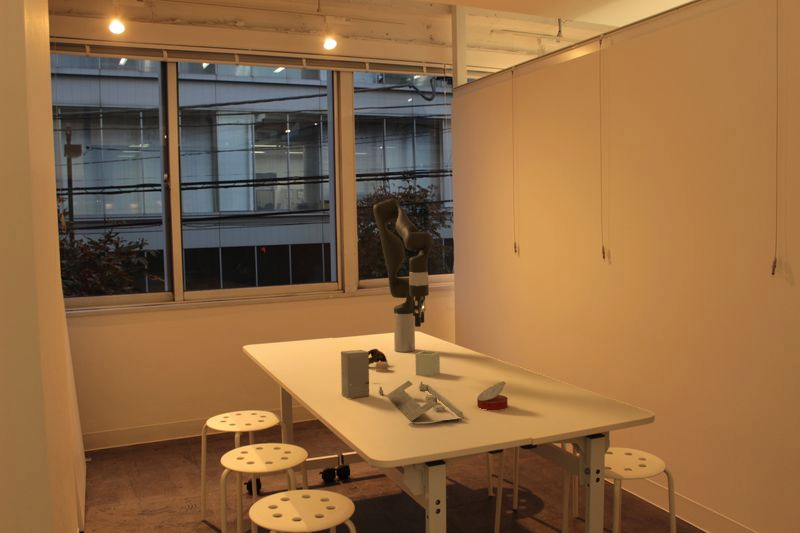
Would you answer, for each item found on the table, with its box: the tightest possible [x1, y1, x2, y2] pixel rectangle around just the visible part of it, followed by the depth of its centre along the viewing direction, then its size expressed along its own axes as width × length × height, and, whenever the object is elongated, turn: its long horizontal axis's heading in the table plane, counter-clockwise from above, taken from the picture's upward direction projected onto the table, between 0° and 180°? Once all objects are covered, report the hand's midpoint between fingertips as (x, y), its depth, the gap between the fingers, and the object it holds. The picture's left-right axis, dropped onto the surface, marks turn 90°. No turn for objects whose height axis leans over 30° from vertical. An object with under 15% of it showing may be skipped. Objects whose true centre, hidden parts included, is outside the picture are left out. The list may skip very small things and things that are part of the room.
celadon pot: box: [414, 350, 441, 377], centre depth 302 cm, size 7×7×9 cm
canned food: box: [476, 381, 509, 411], centre depth 255 cm, size 11×10×10 cm
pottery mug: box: [367, 348, 388, 365], centre depth 323 cm, size 12×10×8 cm
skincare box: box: [340, 349, 370, 399], centre depth 273 cm, size 8×7×16 cm
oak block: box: [375, 361, 389, 373], centre depth 310 cm, size 4×4×4 cm
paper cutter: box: [378, 380, 465, 425], centre depth 256 cm, size 18×45×6 cm, turn 14°
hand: (419, 324), depth 306 cm, fingers open, 8 cm apart
